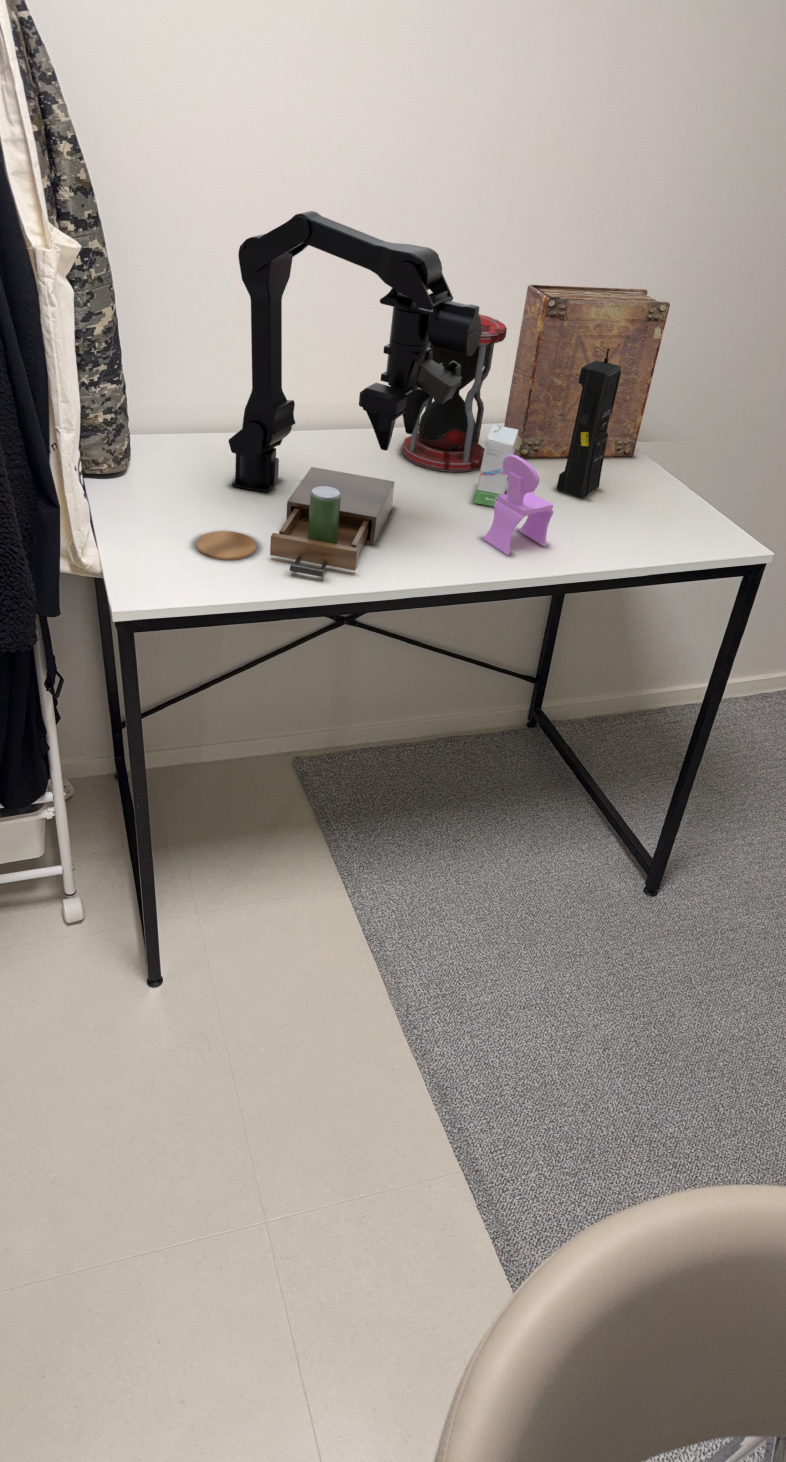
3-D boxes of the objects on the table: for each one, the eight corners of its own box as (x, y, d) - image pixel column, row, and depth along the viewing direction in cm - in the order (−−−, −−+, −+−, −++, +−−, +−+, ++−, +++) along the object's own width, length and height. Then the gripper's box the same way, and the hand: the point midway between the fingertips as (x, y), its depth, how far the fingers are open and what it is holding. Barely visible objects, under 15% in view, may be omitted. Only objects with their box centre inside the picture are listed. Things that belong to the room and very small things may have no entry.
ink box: (479, 486, 190) (490, 422, 183) (507, 491, 190) (519, 427, 183) (473, 503, 183) (484, 438, 176) (502, 509, 183) (514, 443, 176)
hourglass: (430, 476, 191) (449, 336, 177) (386, 444, 202) (400, 310, 188) (501, 467, 199) (525, 332, 184) (455, 437, 210) (474, 307, 195)
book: (612, 440, 218) (648, 289, 201) (633, 457, 211) (672, 302, 194) (500, 441, 211) (527, 284, 193) (518, 458, 204) (548, 297, 186)
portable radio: (583, 502, 189) (614, 362, 175) (553, 492, 192) (581, 353, 177) (599, 489, 195) (631, 353, 180) (570, 480, 197) (599, 345, 183)
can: (304, 544, 159) (307, 494, 154) (311, 531, 163) (314, 483, 158) (333, 549, 159) (337, 500, 154) (340, 537, 162) (344, 488, 158)
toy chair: (551, 548, 172) (570, 460, 163) (511, 557, 167) (528, 468, 159) (518, 527, 177) (535, 442, 168) (479, 536, 172) (494, 449, 164)
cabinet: (373, 545, 165) (376, 517, 163) (285, 529, 167) (287, 501, 164) (391, 508, 178) (394, 481, 175) (309, 493, 179) (311, 466, 176)
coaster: (188, 553, 157) (188, 551, 156) (207, 529, 164) (207, 527, 164) (246, 564, 156) (246, 561, 156) (263, 539, 163) (263, 537, 163)
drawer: (349, 583, 153) (351, 562, 151) (262, 567, 154) (263, 546, 152) (374, 533, 168) (376, 513, 166) (294, 519, 169) (295, 499, 167)
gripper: (432, 366, 146) (418, 472, 155) (481, 339, 160) (466, 438, 169) (362, 348, 149) (352, 453, 159) (416, 323, 164) (404, 421, 173)
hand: (396, 441), depth 165 cm, fingers open, 9 cm apart
